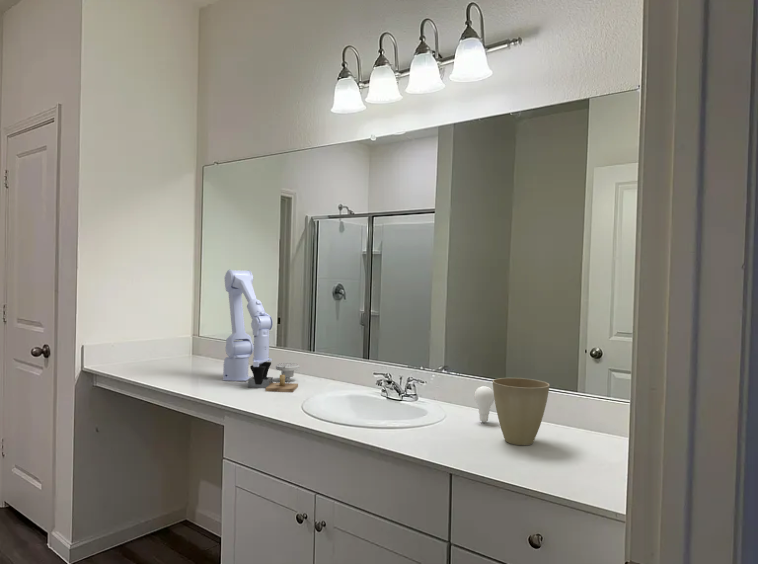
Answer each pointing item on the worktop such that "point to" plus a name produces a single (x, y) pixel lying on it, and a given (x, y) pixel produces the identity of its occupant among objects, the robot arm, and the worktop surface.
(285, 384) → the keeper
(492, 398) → the lightbulb
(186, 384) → the worktop surface
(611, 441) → the worktop surface
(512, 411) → the plant pot
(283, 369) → the showerhead
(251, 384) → the grey rectangular block
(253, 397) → the worktop surface
